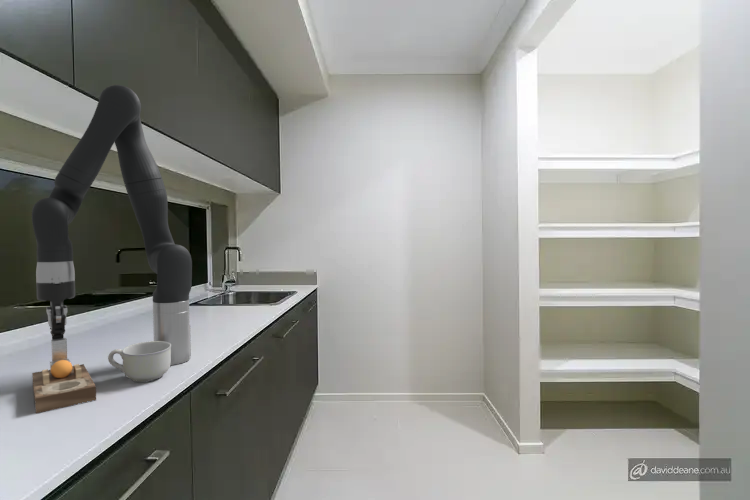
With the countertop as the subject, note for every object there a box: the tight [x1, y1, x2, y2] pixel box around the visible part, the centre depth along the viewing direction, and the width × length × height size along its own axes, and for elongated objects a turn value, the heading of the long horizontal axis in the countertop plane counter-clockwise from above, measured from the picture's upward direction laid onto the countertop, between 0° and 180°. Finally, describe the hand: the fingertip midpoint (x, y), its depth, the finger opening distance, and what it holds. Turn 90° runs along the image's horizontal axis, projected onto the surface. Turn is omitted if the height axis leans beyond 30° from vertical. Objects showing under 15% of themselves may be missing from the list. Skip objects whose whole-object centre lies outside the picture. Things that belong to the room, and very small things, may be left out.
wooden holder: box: [31, 363, 97, 414], centre depth 93 cm, size 21×10×5 cm, turn 41°
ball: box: [51, 360, 73, 378], centre depth 94 cm, size 4×4×4 cm
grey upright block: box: [49, 337, 71, 376], centre depth 97 cm, size 4×4×8 cm
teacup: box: [107, 340, 171, 383], centre depth 102 cm, size 14×11×8 cm
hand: (58, 349), depth 101 cm, fingers closed
